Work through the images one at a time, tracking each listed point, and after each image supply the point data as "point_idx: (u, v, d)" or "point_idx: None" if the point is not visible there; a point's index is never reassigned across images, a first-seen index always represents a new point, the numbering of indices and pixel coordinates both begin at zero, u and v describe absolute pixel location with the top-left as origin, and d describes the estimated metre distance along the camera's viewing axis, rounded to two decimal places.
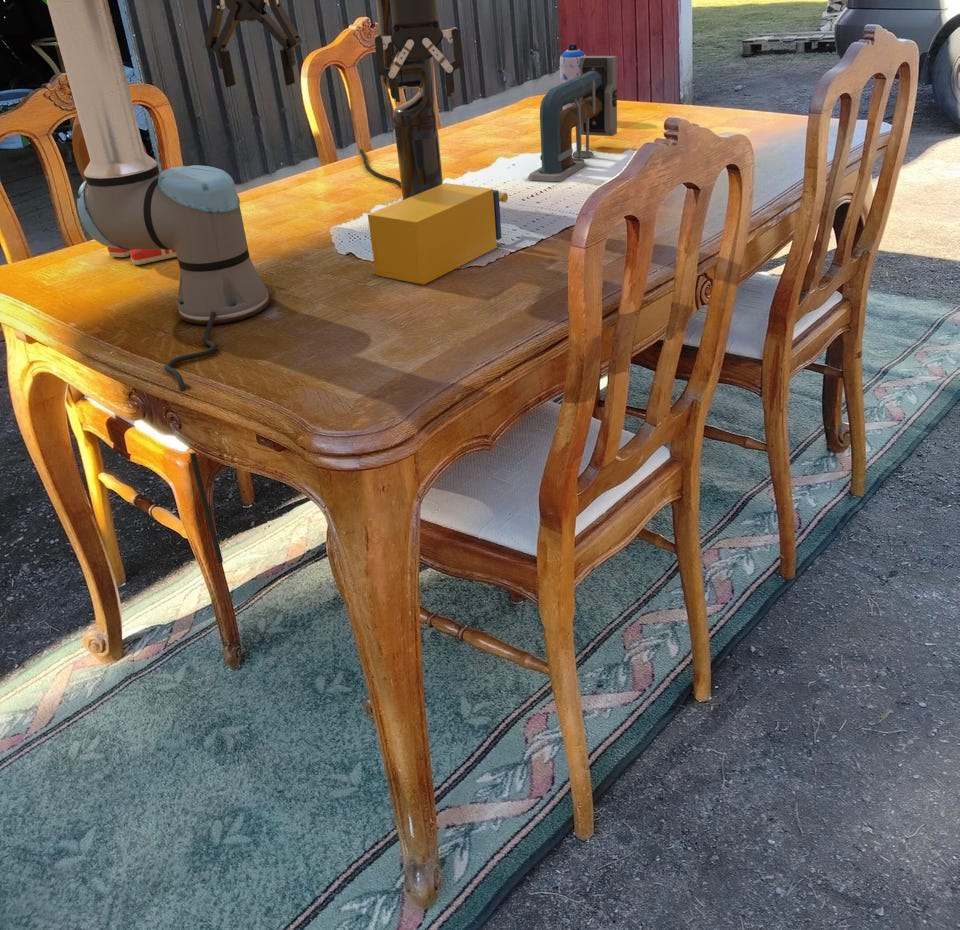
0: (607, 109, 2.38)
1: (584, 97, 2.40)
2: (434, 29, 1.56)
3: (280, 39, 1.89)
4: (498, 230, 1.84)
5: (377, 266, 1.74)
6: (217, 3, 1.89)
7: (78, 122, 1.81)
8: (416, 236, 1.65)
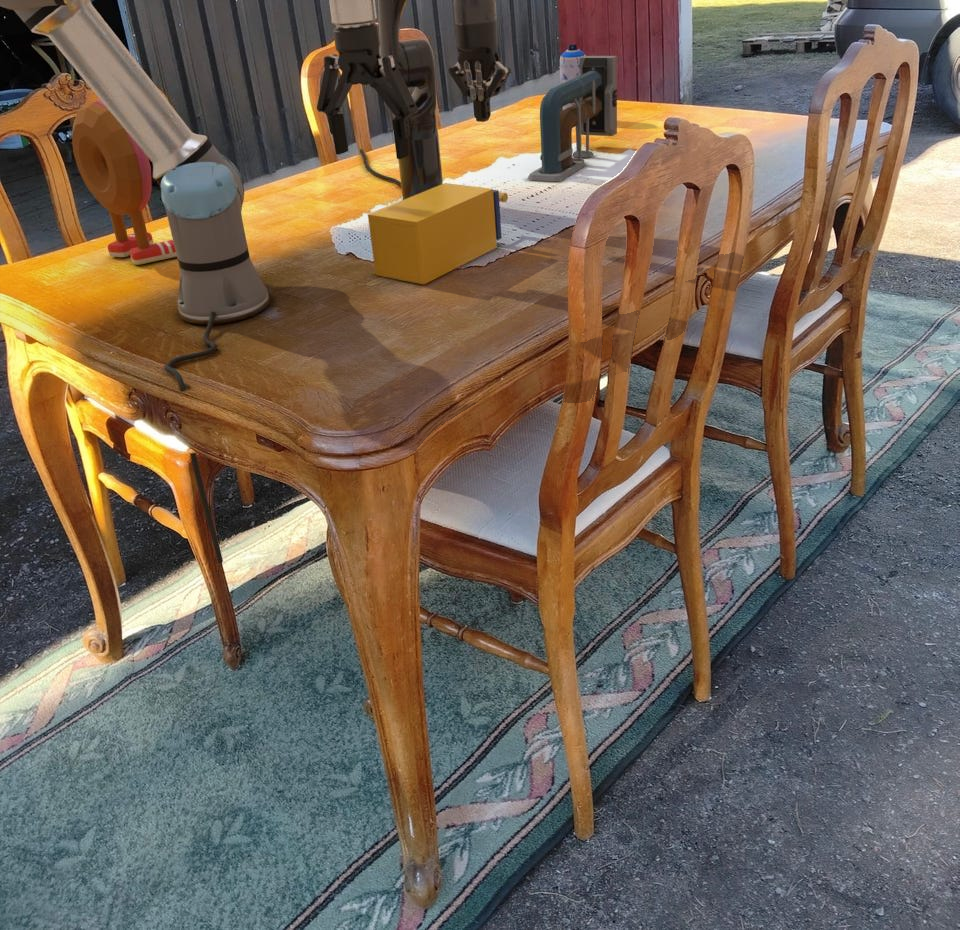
0: (607, 109, 2.38)
1: (584, 97, 2.40)
2: (490, 55, 1.71)
3: (393, 107, 1.63)
4: (498, 230, 1.84)
5: (377, 266, 1.74)
6: (330, 62, 1.66)
7: (78, 122, 1.81)
8: (416, 236, 1.65)
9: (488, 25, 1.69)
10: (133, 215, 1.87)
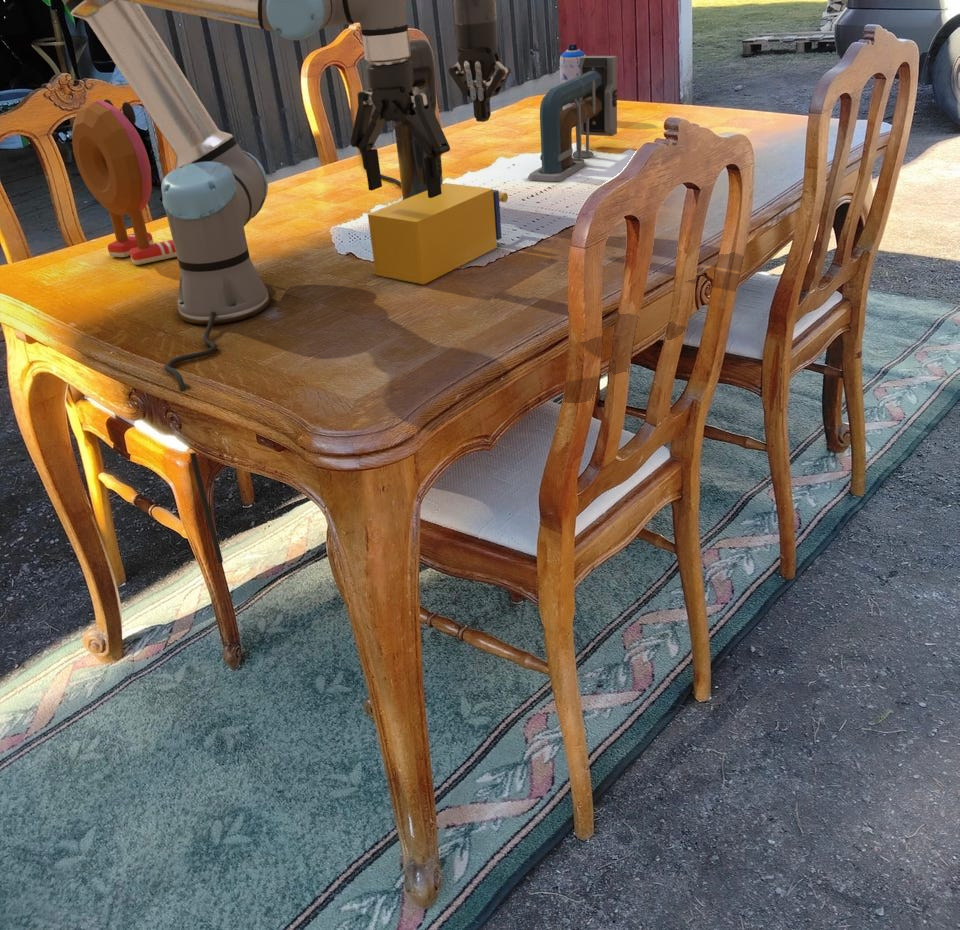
0: (607, 109, 2.38)
1: (584, 97, 2.40)
2: (490, 55, 1.71)
3: (425, 146, 1.58)
4: (498, 230, 1.84)
5: (377, 266, 1.74)
6: (364, 98, 1.62)
7: (78, 122, 1.81)
8: (416, 236, 1.65)
9: (488, 25, 1.69)
10: (133, 215, 1.87)
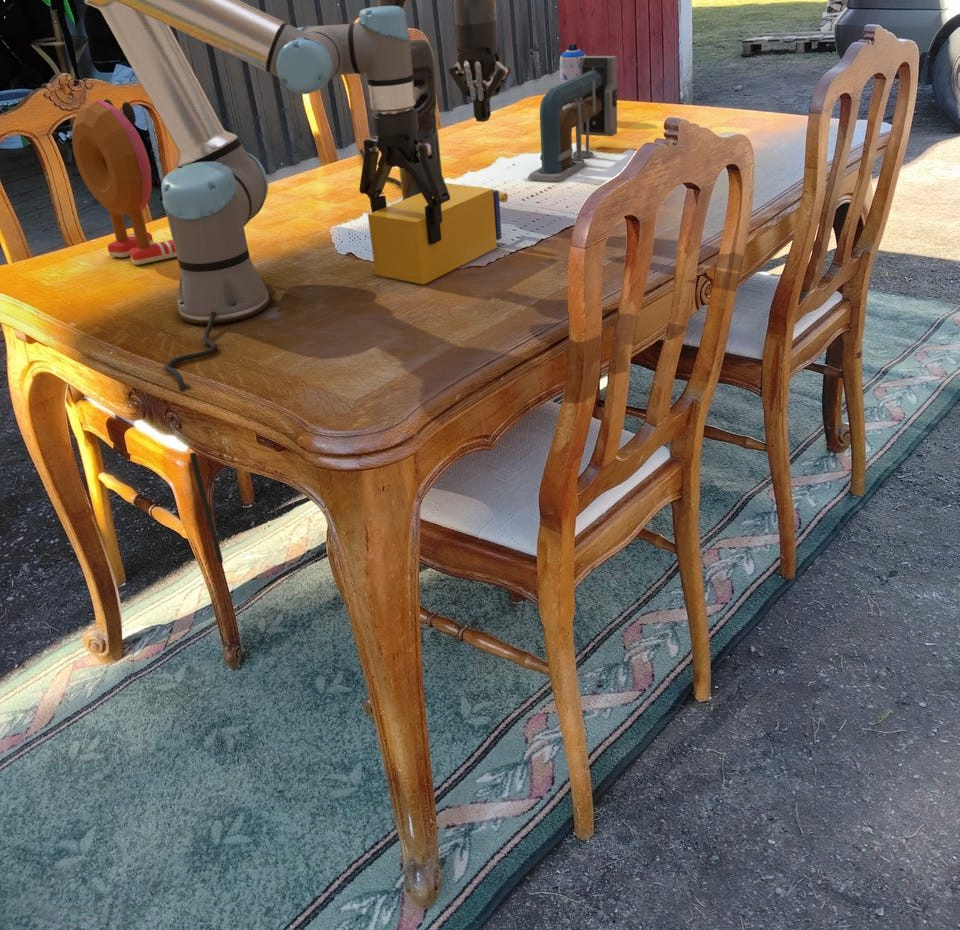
0: (607, 109, 2.38)
1: (584, 97, 2.40)
2: (490, 55, 1.71)
3: (426, 195, 1.63)
4: (498, 230, 1.84)
5: (377, 266, 1.74)
6: (370, 145, 1.66)
7: (78, 122, 1.81)
8: (416, 236, 1.65)
9: (488, 25, 1.69)
10: (133, 215, 1.87)
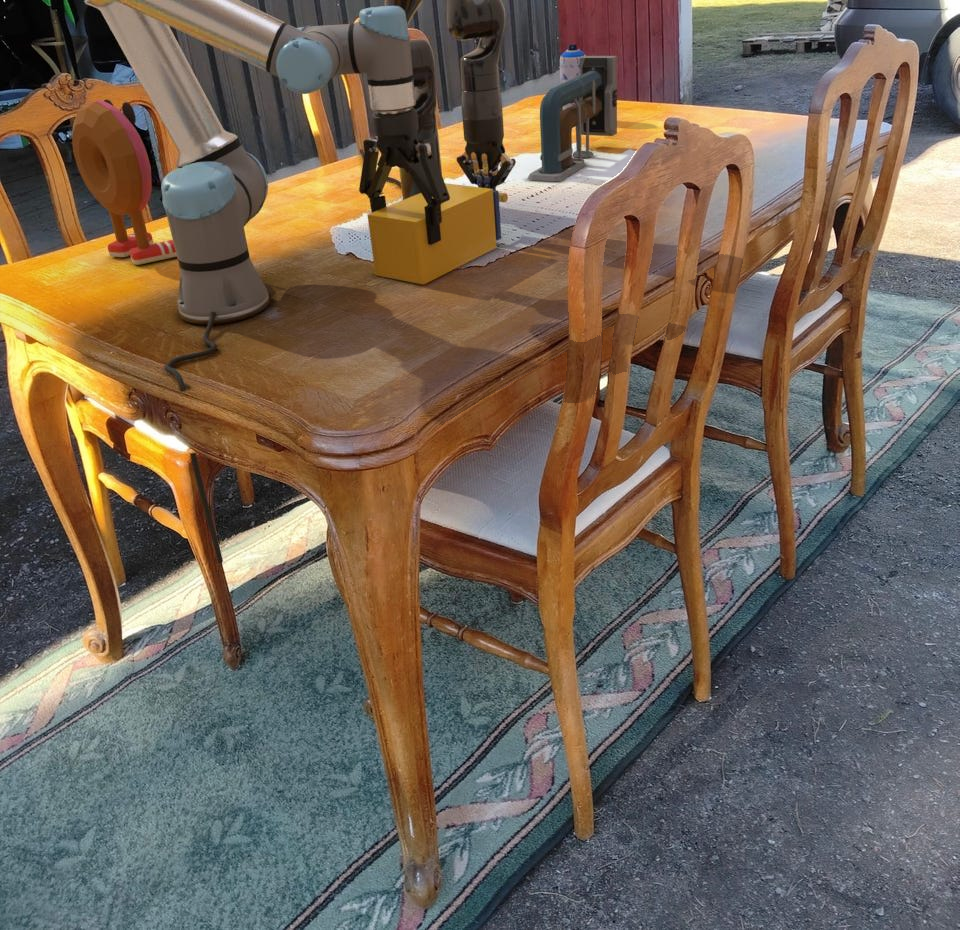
0: (607, 109, 2.38)
1: (584, 97, 2.40)
2: (496, 148, 1.79)
3: (426, 195, 1.63)
4: (498, 230, 1.84)
5: (376, 266, 1.74)
6: (370, 145, 1.66)
7: (78, 122, 1.81)
8: (416, 236, 1.65)
9: (494, 121, 1.77)
10: (133, 215, 1.87)
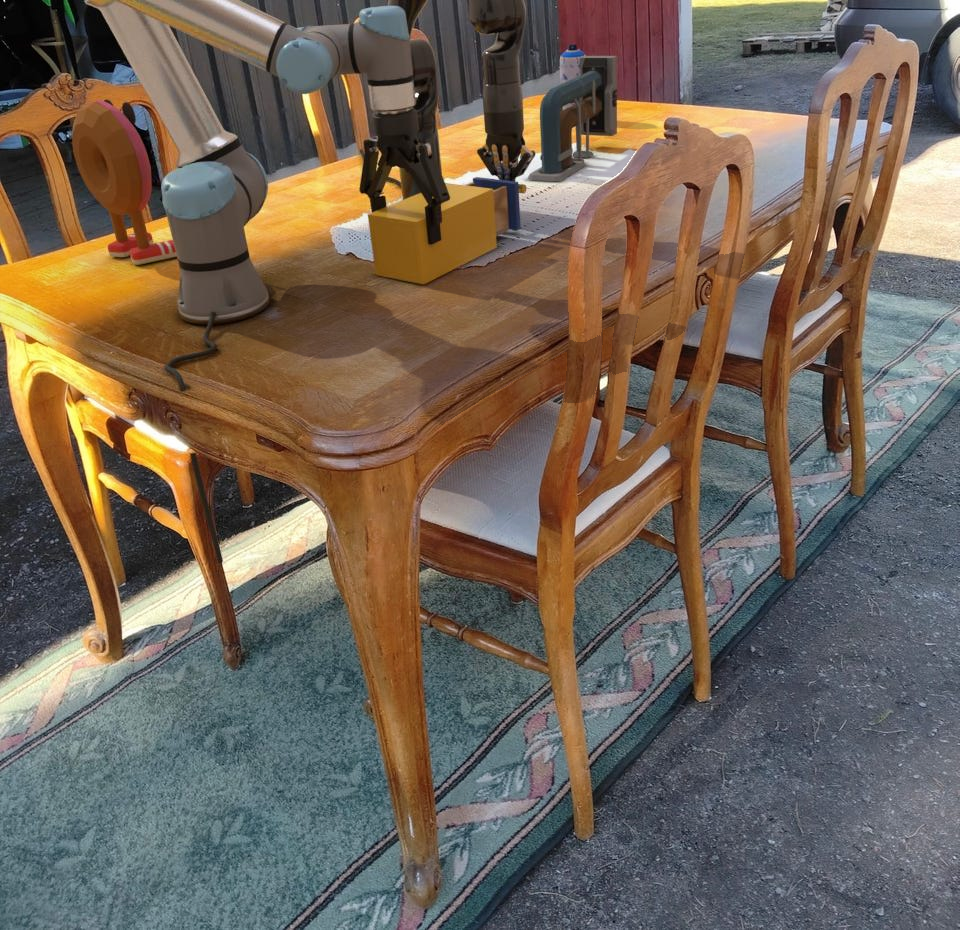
0: (607, 109, 2.38)
1: (584, 97, 2.40)
2: (516, 140, 1.84)
3: (426, 195, 1.63)
4: (517, 221, 1.88)
5: (377, 266, 1.74)
6: (370, 145, 1.66)
7: (78, 122, 1.81)
8: (416, 236, 1.65)
9: (515, 113, 1.81)
10: (133, 215, 1.87)
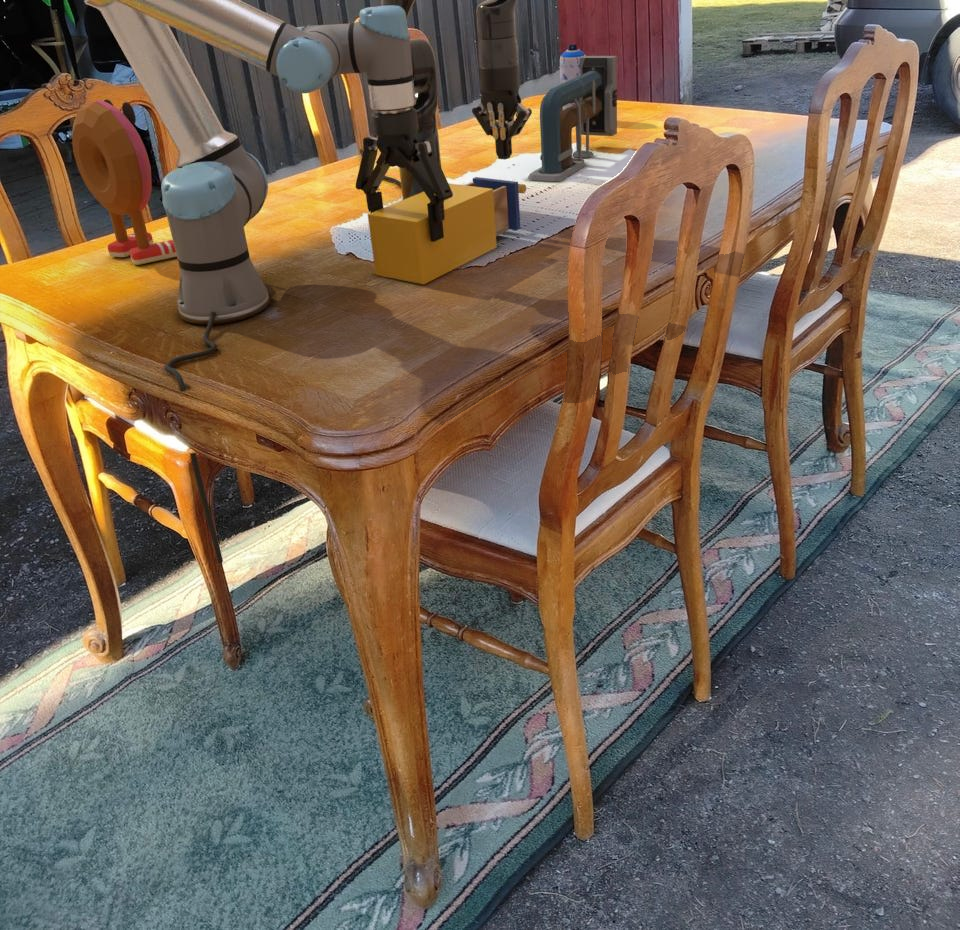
0: (607, 109, 2.38)
1: (584, 97, 2.40)
2: (512, 97, 1.79)
3: (428, 192, 1.62)
4: (517, 221, 1.88)
5: (377, 266, 1.74)
6: (369, 143, 1.66)
7: (78, 122, 1.81)
8: (416, 236, 1.65)
9: (511, 69, 1.77)
10: (133, 215, 1.87)
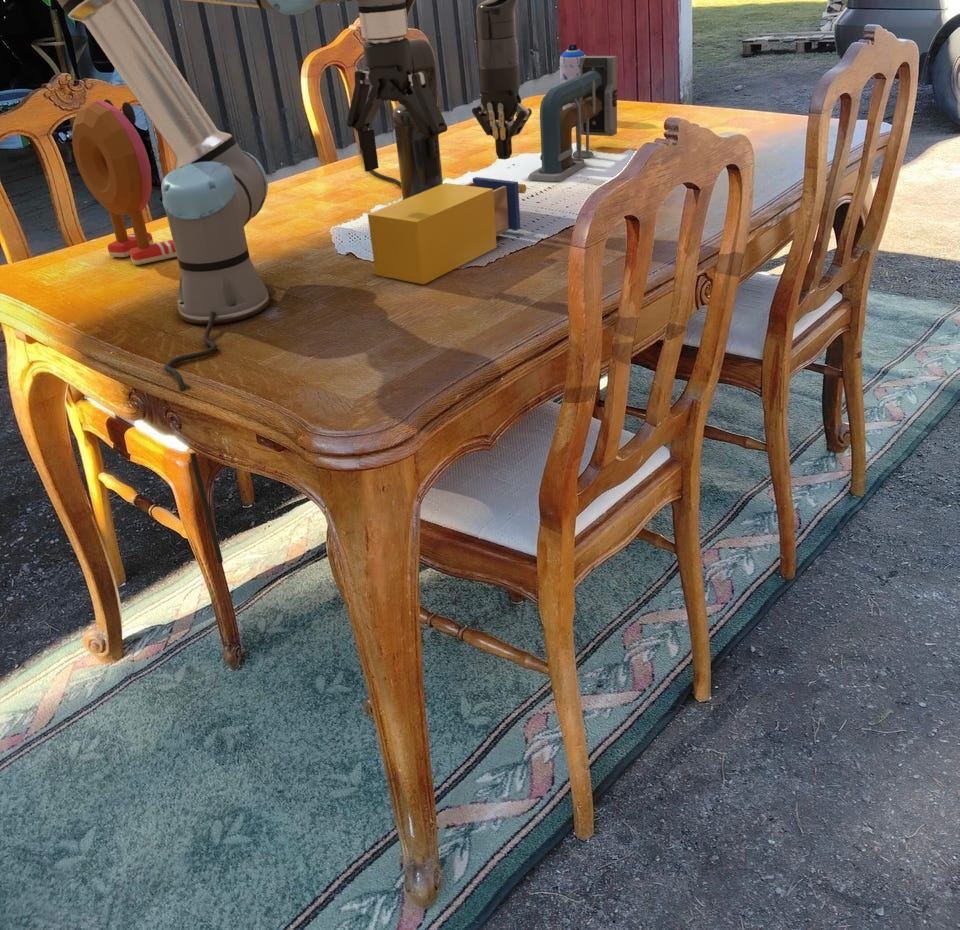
0: (607, 109, 2.38)
1: (584, 97, 2.40)
2: (512, 97, 1.79)
3: (422, 125, 1.57)
4: (517, 221, 1.88)
5: (377, 266, 1.74)
6: (361, 77, 1.60)
7: (78, 122, 1.81)
8: (416, 236, 1.65)
9: (511, 69, 1.77)
10: (133, 215, 1.87)
